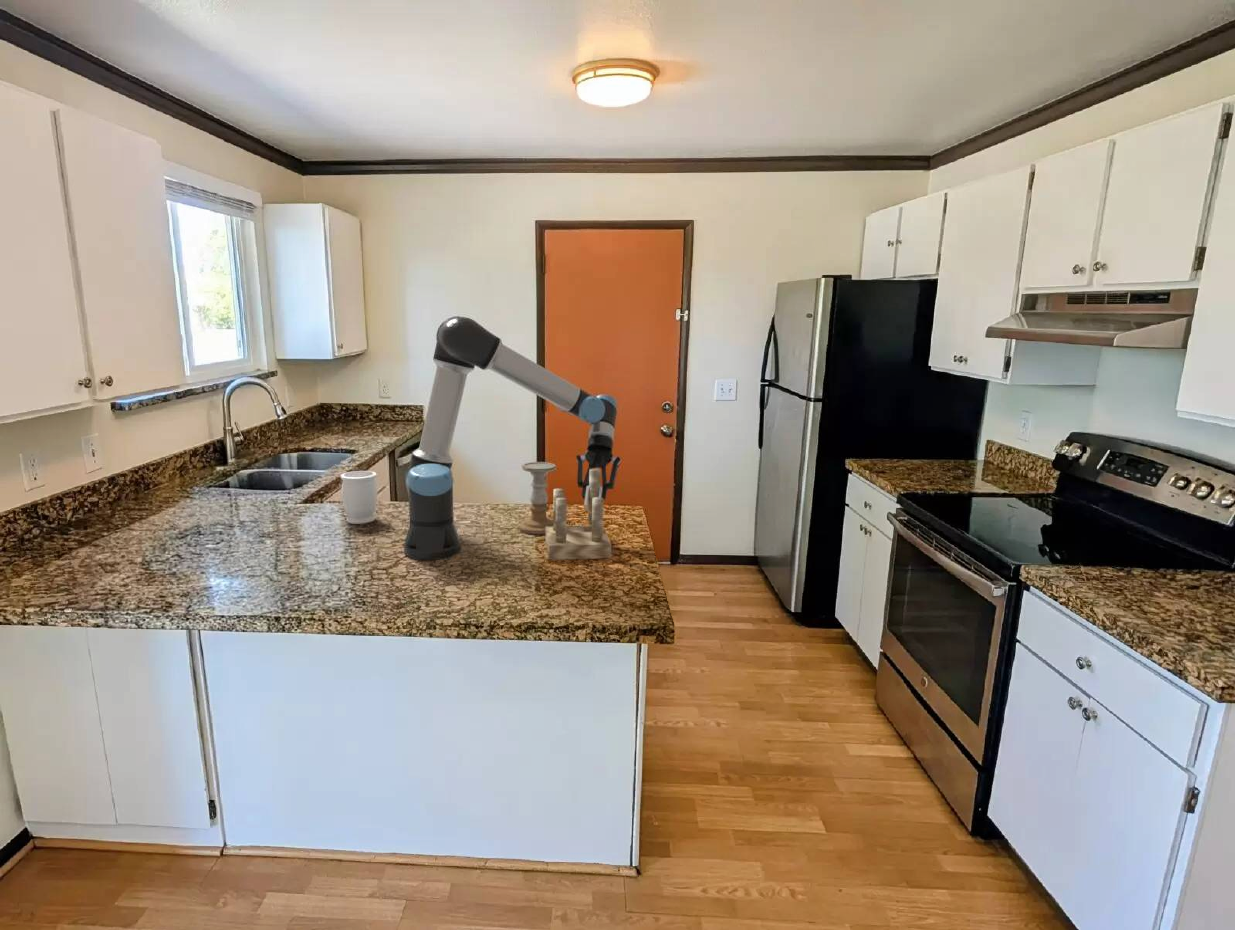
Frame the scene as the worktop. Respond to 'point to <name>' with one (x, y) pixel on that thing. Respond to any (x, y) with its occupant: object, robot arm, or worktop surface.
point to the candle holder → (537, 498)
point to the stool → (576, 533)
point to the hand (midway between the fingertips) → (592, 507)
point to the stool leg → (593, 488)
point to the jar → (359, 496)
